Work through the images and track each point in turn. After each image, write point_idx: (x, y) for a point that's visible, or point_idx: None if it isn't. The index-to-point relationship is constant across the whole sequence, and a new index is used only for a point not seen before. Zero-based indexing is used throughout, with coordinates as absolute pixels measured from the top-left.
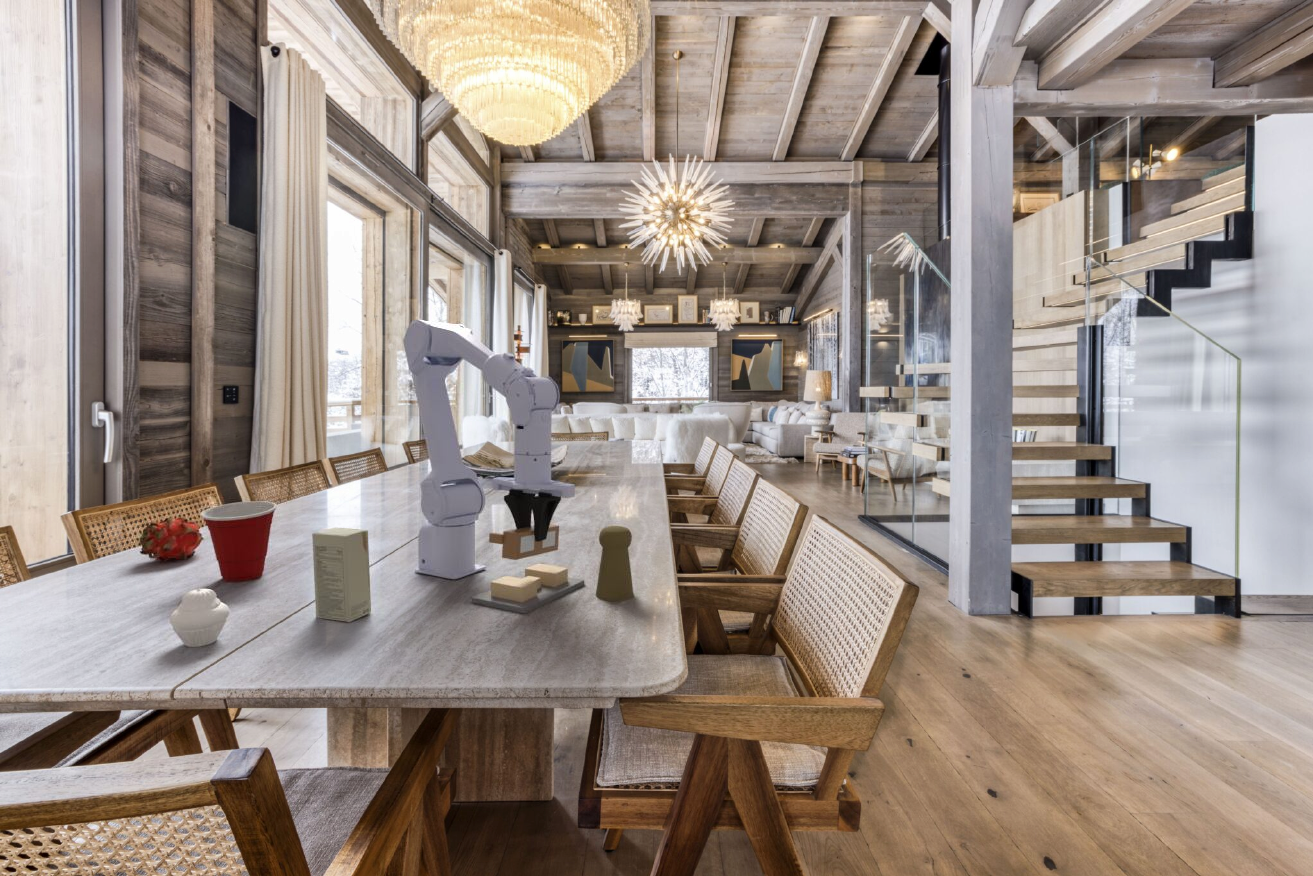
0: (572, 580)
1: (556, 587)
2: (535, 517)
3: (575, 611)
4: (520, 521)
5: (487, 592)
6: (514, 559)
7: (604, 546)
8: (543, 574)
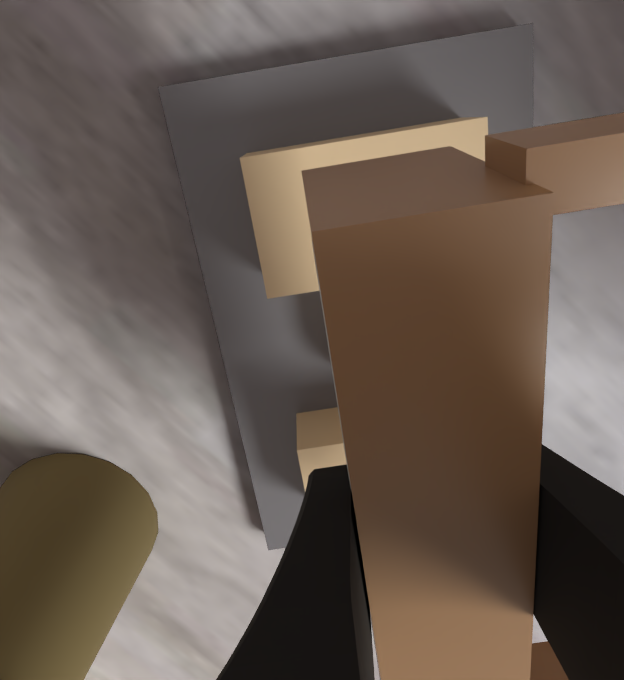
0: None
1: (286, 413)
2: (317, 636)
3: (21, 276)
4: (589, 554)
5: None
6: (314, 169)
7: None
8: None
